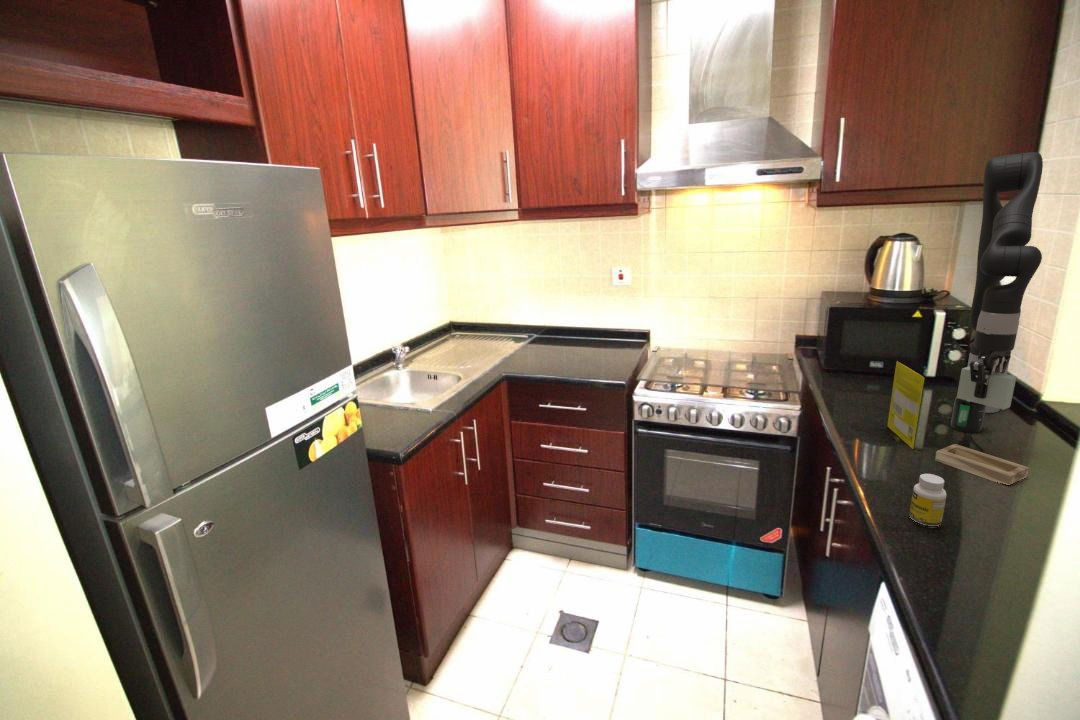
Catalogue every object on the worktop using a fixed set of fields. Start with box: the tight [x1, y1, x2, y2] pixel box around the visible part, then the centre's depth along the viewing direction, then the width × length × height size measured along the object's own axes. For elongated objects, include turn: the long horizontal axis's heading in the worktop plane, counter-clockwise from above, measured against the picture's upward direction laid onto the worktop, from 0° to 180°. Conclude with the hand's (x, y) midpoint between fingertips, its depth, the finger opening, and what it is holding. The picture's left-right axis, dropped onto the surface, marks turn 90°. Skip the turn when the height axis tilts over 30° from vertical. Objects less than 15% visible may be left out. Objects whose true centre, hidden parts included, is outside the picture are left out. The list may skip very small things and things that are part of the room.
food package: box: [887, 360, 925, 450], centre depth 139 cm, size 15×1×20 cm, turn 168°
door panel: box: [956, 366, 1017, 411], centre depth 128 cm, size 3×10×8 cm, turn 25°
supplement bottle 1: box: [908, 473, 947, 527], centre depth 104 cm, size 5×5×10 cm
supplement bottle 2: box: [950, 396, 986, 434], centre depth 143 cm, size 7×7×12 cm
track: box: [934, 443, 1030, 485], centre depth 123 cm, size 8×15×3 cm, turn 25°
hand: (983, 395), depth 129 cm, fingers closed on door panel, 3 cm apart
